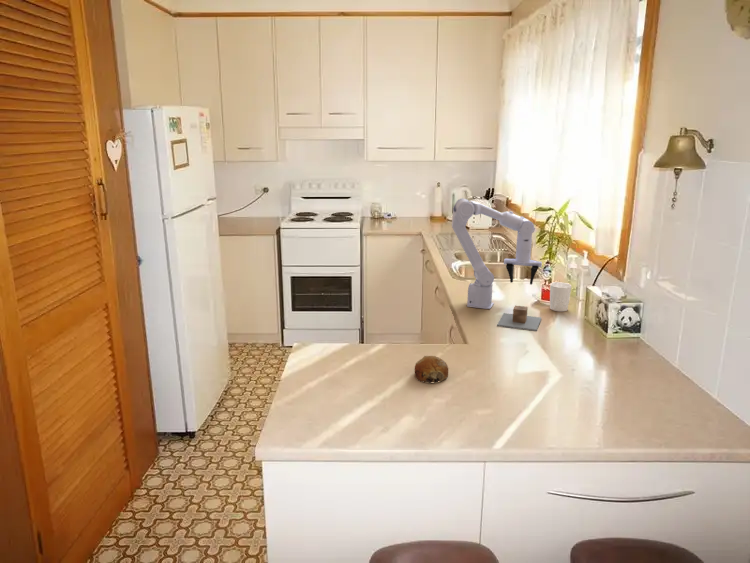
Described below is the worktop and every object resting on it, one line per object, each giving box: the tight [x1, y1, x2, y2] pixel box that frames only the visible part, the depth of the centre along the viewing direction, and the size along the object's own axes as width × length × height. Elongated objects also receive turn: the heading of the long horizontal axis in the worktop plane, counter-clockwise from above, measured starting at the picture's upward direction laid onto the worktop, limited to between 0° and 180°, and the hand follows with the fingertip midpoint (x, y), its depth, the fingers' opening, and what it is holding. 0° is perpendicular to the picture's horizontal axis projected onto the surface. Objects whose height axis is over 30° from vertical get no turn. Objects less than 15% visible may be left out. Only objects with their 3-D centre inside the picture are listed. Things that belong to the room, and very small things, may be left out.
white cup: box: [549, 281, 572, 312], centre depth 223 cm, size 8×8×10 cm
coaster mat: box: [496, 312, 542, 332], centre depth 209 cm, size 14×14×1 cm
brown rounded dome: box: [414, 355, 449, 383], centre depth 164 cm, size 10×10×8 cm
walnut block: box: [512, 305, 528, 323], centre depth 208 cm, size 4×4×5 cm
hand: (521, 283), depth 226 cm, fingers open, 7 cm apart
